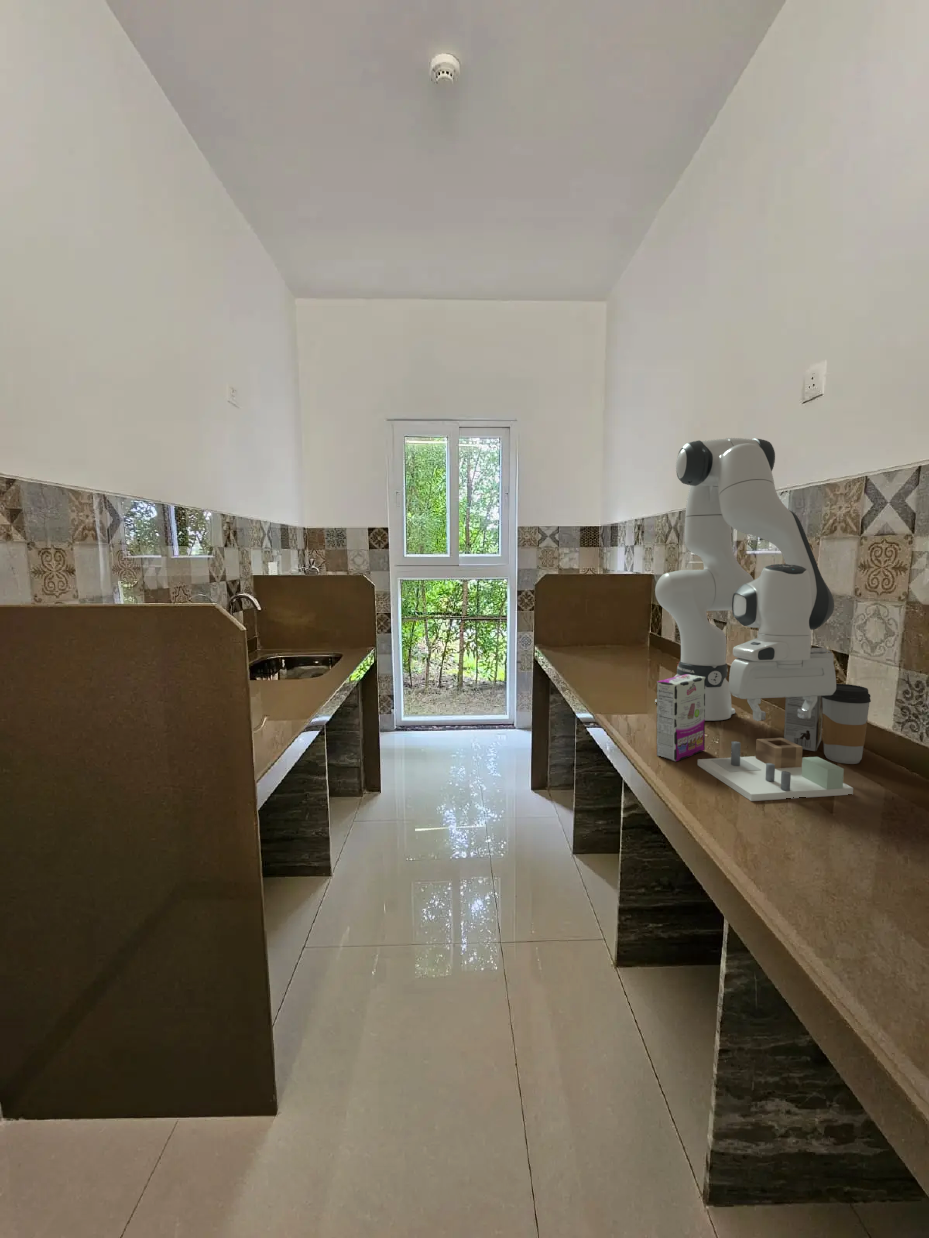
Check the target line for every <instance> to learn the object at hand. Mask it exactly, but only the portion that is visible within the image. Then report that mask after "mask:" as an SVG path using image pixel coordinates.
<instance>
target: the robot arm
mask: <svg viewBox="0 0 929 1238" xmlns="http://www.w3.org/2000/svg"><path fill="white" fill-rule="evenodd" d="M775 463H776V451H775V448H774V446H773V444H772V443H771V442H770V441H768V440H765V439H762V438H755V437H753V438H751V439H750V438H741V437H726V438H719V439H718V438H717V439H709V440H705V441H704V440H703V441H701V440H694V441H691V442H690V441H689V442H686V443H685V444H684V445H683V446H682V447H681V448H680V450H679V451H678V453H677V458H676V461H675V471H676V476H677V479H678V480H679V481H680V482H681V483H682V485H683V484H684V485H688V486H689V489H688V493H687V497H686V505H685V515H684V516H685V520H684V543H683V544H684V546H685V547H686V549H687V550H688V552H689V553H690V552H691V554H694V555H695V556H698V557H699V558H700V560H701V562H702V565H703V569H679V570H675V571H670V572H666V573H663V574H662V575H661V576H660V577H659V578H658V579H657V581H656V584H655V589H654V591H655V592H654V595H655V599H656V601H657V603H658V604H659V605H660V606H661V608H663V609H664V610H665V611H666V612H668V613H669V615H671V618H673V620H674V621H675V622H676V625H677V628H678V631H679V637H680V661H676V663H678V664H676V666H677V667H676V674H675V675H674V676H673V677H677V676H681V675H685V674H691V675H696V676H702V677H705V721H723V720H728V719H730V718H731V717H732V715H733V714H736V709H735V708H734V707H732V696H733V697H734V698H735V697H736V698H738V699H741V700H747V702H746V703H748V705H749V707H750V709H751V710H752V720H754V721H756V722H764V721H766V716H767V714H766V713H767V712H766V711H764V710H762V709H761V708H760V705H761V703H762V699H771V698H777V699H778V698H786V697H802V696H803V699H805V702H804V704H803V706H802V708H798V717H799V718H802V719H810V718H811V710H812V709H813V707H814V706H815V704H816V702H817V696H825V695H833V693H834V692H835V690H836V684H837V678H836V676H837V675H836V669H835V664H834V661H835V660H834V659H835V658H834V657H835V655H834V653H832V651H831V650H829V649H828V648H827V647H812V646H811V645H812V631H814V630H816V629H818V628H820V627H821V626H823V625H824V624H825V623H826V622H828V620H829V619H830V618H831V616H832V615H833V613H834V610H835V600H834V596H833V594H832V592H831V590H830V587H828V585H827V583H826V582H825V580H824V578H823V576H822V574H821V572H820V569H819V567H818V566H819V565H818V563H817V561H816V559H815V556H814V553H813V550H812V547H811V545H810V543H809V540H808V537H807V535H806V532H805V530H804V527H803V524H802V523H801V520H800V519H799V517H798V515H797V514H796V513H795V512H794V511H791V510H790V509H788V508H787V506H786V505H785V504H784V503H783V501H782V500H781V499H780V497H779V495H778V493H777V490H776V485H775V481H774V476H773V472H772V471H773V469H774V467H775ZM732 528H733V529H734V530H736V531H738V532H740V533H743V534H746V535H749V536H752V537H753V536H754V537H756V538H760V539H763V540H764V541H767V542H769V543H770V544H772V545H774V546H775V547H776V548H777V549H778V550H779V551H780V553H781V554H782V558H783V560H784V563H785V564H784V563H782V564H781V563H780V564H778V563H776V564H771V565H766V566H764V567H763V568H762V571H761V573H760V575H759V576H758V577H757V578H755V579H754V578H753V576H752V575H751V574H750V573H749V572H748V571H746V570H745V569H744V568H743V567H742V566H741V565H740V563H739V562H738V559H737V558H736V555H735V553H734V550H733V544H732ZM710 611H711V612H714V611H715V612H717V611H719V612H720V611H732V615H733V618H735V620H736V621H737V622H738V623H739V624H740V625H741V626H743V627H748V628H752V629H753V628H754V629H755V628H756V629H757V628H758V632H757V637H755V638H753V639H751V640H748V641H745V642H744V643H740V644H738V645H735V646H734V647H733V648H732V655H733V657H734V658H735V659H734V660H733V661H732V662H731V665H730V668H728V663H727V660H726V659H727V636H726V634H725V632H724V631H723V629H721V628H720V627H718V626H716V625H714V624H712V623H711V622H710V621H709V619H708V616H707V612H710ZM728 670H729V671H728ZM728 672H729V674H728ZM728 675H729V677H728ZM727 677H728V680H727ZM655 702H657V698H655V699H654V703H655ZM759 704H760V705H759Z"/></svg>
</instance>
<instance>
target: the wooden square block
mask: <svg viewBox="0 0 929 1238" xmlns="http://www.w3.org/2000/svg"><path fill="white" fill-rule="evenodd" d="M755 741H756V743H755V744H756V745H755V756H756V759H758V760H760V761H761V762H763V763H765V764H766V763H772V764H774V765H775V769H776V768H793V767H802V758H803V749H802V748H803V747H802V746H800V745H797V744H795V743H793V742H791V741H788V740H786V739H784V737H772V738H771V737H770V738H757V739H755Z"/></svg>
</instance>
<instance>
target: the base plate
mask: <svg viewBox="0 0 929 1238" xmlns="http://www.w3.org/2000/svg"><path fill="white" fill-rule="evenodd" d="M741 746H742V742H740V741H733V740H732V741H731V746H730V747H731V748H730V749H731V750H730V757H715V758H702V759H699V758H698V759H697V766H698V767H700V768H701V769H702V770H704V771H705V772H707V773H708V774H710V775H712V776H713V777H714V778H716V779H717V780H719V781H720V782H722V783H724V784H725V785H727V786H728V787H729V788H731V789H732V790H734V791H735V792H737V793H738V794H739V795H742V797H744V798H746V800H749V801H750V802H758V801H761V802H762V801H773V800H774V801H775V800H786V798H791V799H800V798H799V797H806V798H818V797H833V796H849V795H848V794H852V795H854V787H852V786H851V785H849V784H847V783H845V782H843V788H838V789H826V788H824V787H822V786H820V785H818V784H816V783H814V782H812V781H810V780H808V779H806V778H804V777H803V776H802V767H793V768H776V769H775V765H774V764H772V763H766V764H765V763H763V762H761V761H760V760H758V759H756V755H754V756H753V755H752V756H749V755H748V756H741ZM793 797H794V798H793Z"/></svg>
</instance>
